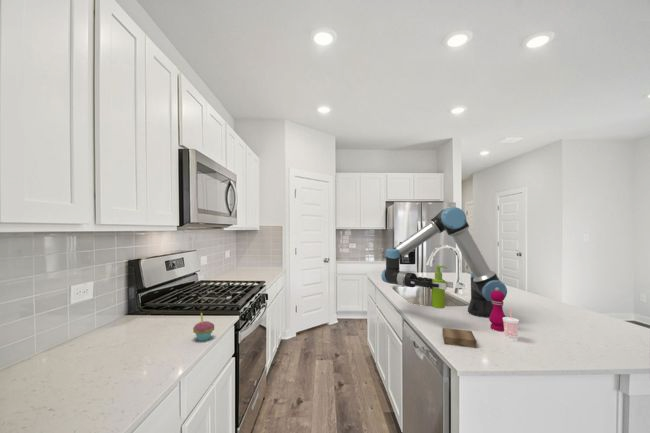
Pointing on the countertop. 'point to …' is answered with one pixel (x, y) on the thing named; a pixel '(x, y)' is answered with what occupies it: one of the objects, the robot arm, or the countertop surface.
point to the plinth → (458, 337)
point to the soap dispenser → (438, 290)
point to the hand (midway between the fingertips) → (449, 285)
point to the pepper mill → (497, 310)
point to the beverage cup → (511, 328)
